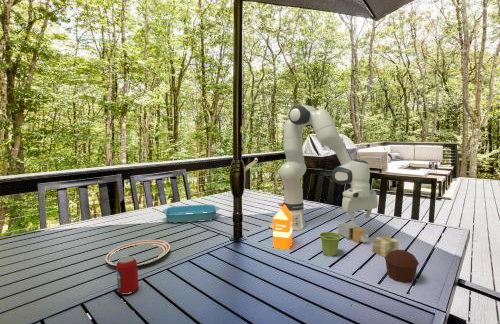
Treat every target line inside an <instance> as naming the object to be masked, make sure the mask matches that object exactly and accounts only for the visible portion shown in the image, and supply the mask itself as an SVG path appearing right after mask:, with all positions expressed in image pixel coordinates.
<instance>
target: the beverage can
mask: <svg viewBox="0 0 500 324" xmlns="http://www.w3.org/2000/svg"><path fill="white" fill-rule="evenodd" d="M115 267H116V268H115V269H116V283H117V292H118V291H119V292H120V293H129V292H133V291H135V290H136V289H137V288H138V289H139V272H138V271H139V270H138V269H139V268H138V266H137V261H136V259H135V257H134V256H124V257H122V258H120V259H119V260H118V263H117V265H116V266H115ZM138 289H137V290H138ZM137 290H136V291H137ZM136 291H135V292H136ZM119 292H118V293H119ZM120 293H119V294H120Z"/></svg>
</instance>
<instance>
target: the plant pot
mask: <svg viewBox="0 0 500 324" xmlns="http://www.w3.org/2000/svg"><path fill="white" fill-rule="evenodd" d="M319 237H320V240H321V249H322V254H323V255H325V256H327V257H334V256H337V253H338V247H339V243H340V239H341V238H342V236H340V235H339V234H338V233H336V232H334V231H333V232H332V231H322V232H320V233H319Z"/></svg>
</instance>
